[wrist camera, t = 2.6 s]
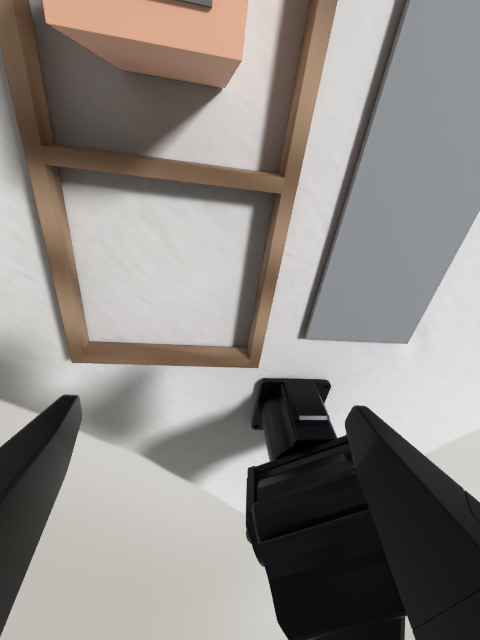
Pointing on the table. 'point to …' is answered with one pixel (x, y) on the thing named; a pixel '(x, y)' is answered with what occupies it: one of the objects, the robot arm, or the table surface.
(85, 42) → the peach block
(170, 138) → the table surface
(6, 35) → the organizer
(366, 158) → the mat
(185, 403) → the table surface
